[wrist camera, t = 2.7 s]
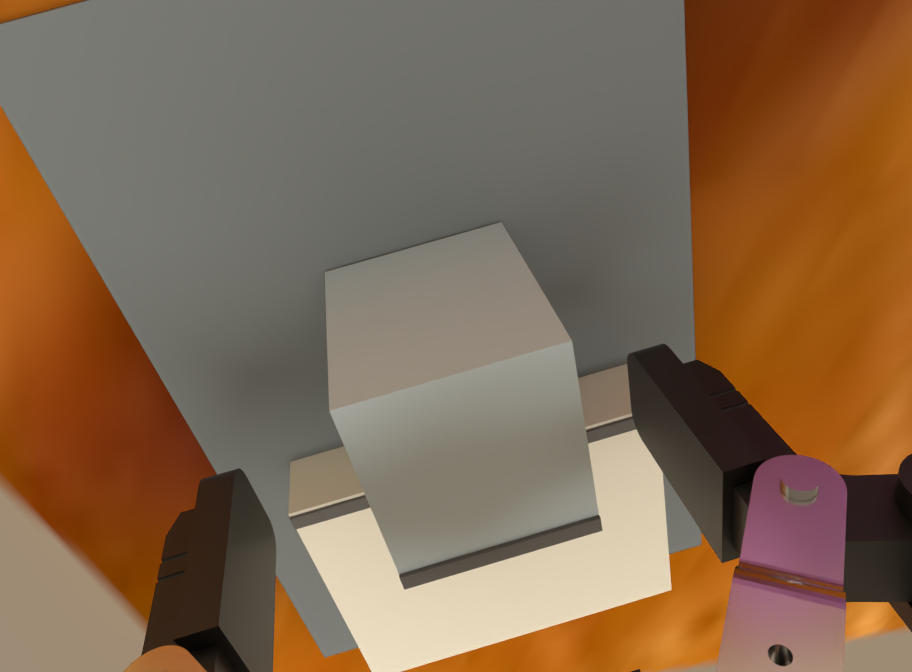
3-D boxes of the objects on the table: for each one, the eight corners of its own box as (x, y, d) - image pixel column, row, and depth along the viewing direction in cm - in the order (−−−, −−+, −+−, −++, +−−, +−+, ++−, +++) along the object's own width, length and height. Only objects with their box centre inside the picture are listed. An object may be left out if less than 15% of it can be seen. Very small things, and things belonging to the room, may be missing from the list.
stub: (501, 222, 17) (574, 343, 12) (533, 382, 19) (602, 531, 15) (324, 272, 16) (329, 414, 12) (382, 426, 19) (404, 589, 15)
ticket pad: (664, -157, 14) (735, -170, 11) (693, 531, 25) (731, 593, 23) (-28, 30, 13) (-97, 56, 11) (324, 642, 25) (325, 716, 23)
